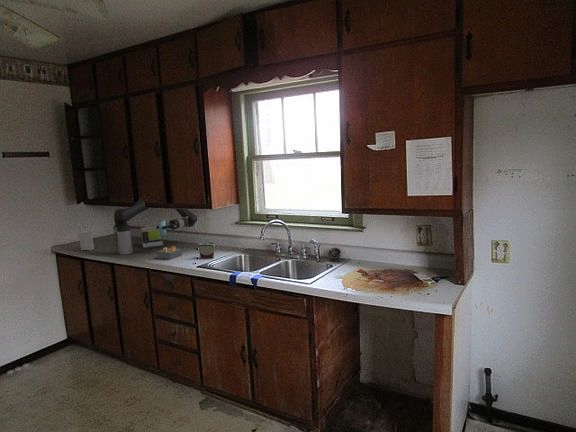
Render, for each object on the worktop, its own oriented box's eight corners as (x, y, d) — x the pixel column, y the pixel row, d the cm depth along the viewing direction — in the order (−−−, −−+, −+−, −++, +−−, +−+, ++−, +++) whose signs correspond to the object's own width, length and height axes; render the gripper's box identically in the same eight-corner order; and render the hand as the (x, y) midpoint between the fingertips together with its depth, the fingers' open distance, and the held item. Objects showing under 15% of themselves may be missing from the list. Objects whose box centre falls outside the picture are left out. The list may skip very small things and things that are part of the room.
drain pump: (158, 236, 286) (156, 220, 284) (163, 235, 290) (161, 219, 289) (163, 236, 284) (161, 220, 282) (168, 235, 288) (166, 219, 286)
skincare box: (94, 248, 314) (92, 230, 312) (91, 250, 308) (89, 232, 306) (83, 249, 313) (80, 231, 310) (80, 251, 307) (77, 232, 304)
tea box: (161, 243, 323) (159, 225, 321) (163, 245, 314) (161, 227, 312) (142, 245, 317) (140, 227, 315) (143, 248, 308) (141, 229, 306)
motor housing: (157, 258, 270) (156, 249, 270) (170, 254, 281) (169, 245, 280) (169, 259, 265) (168, 250, 264) (181, 255, 276) (181, 246, 275)
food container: (219, 256, 268) (217, 242, 266) (215, 258, 262) (213, 244, 261) (202, 256, 271) (201, 242, 270) (198, 258, 265) (197, 243, 264)
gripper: (169, 218, 301) (152, 222, 287) (183, 219, 295) (166, 222, 280) (170, 228, 302) (153, 232, 288) (184, 229, 296) (167, 233, 281)
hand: (159, 227), depth 284 cm, fingers closed on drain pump, 5 cm apart
